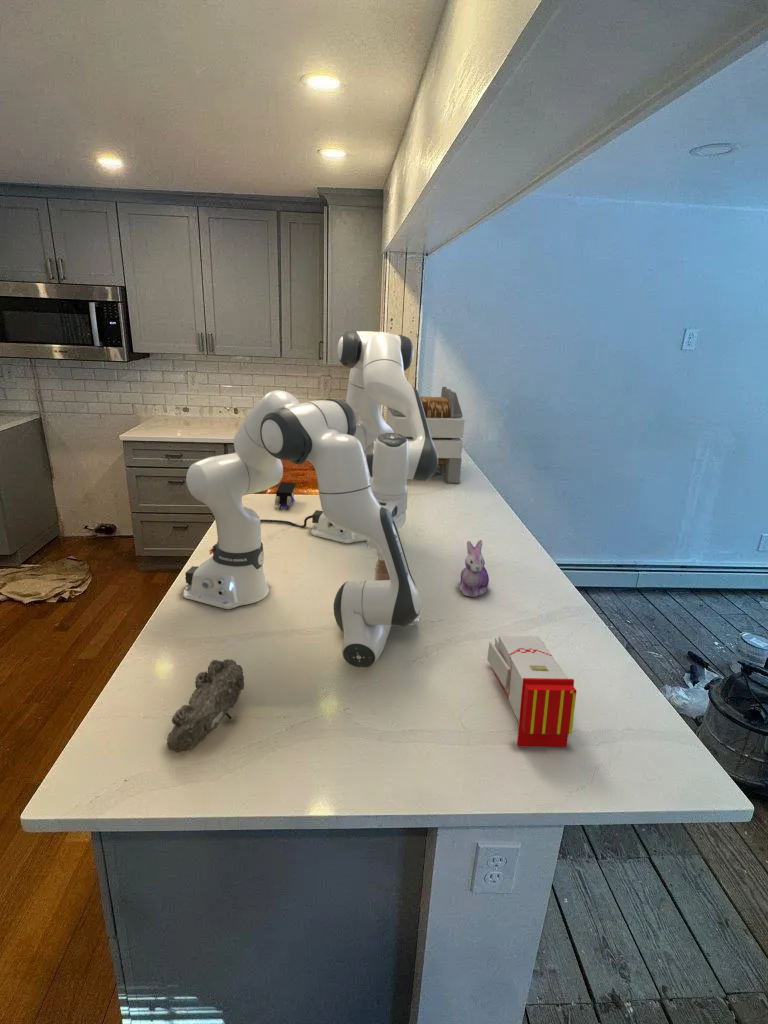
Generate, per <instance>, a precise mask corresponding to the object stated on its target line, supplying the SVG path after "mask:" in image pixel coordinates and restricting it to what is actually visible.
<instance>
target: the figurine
mask: <svg viewBox="0 0 768 1024" xmlns="http://www.w3.org/2000/svg"><path fill="white" fill-rule="evenodd" d="M482 548H483V540H482V539H479V540H478V541H477V543H476V544H475V546H474V544H473V543H472V542H471V541H470V540H467V542H466V550H467V555H466V557H465V559H464V565H465V566H464V568H463V569H462V570H461V572H460V581H459V590H460V591H461V593H462V595H463V596H466V597H472V598H473V597H474V598H477V597H478V596H483V595H484V594H485V593H486V592H487V590H488V586H489V583H490V577H489V573H488V571H487V568H486V567H485V565H486V561H485V558H484V556H483V553H482Z"/></svg>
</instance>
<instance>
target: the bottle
mask: <svg viewBox="0 0 768 1024" xmlns="http://www.w3.org/2000/svg"><path fill="white" fill-rule="evenodd" d="M376 580H390V576H389V573H388V570H387V567H386V564H385V560H378V559H377V561H376V564H375V568H374V581H376Z"/></svg>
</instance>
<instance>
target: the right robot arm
mask: <svg viewBox="0 0 768 1024" xmlns="http://www.w3.org/2000/svg"><path fill="white" fill-rule="evenodd" d="M413 344H414V343H413V342H412V340H411V339H410V337H408V336H406V335H403V334H395V333H390V332H384V331H379V330H378V331H371V330H359V331H357V330H356V329H352V330H345V331H344V332H343V333H342V334H341V336H340V338H339V340H338V343H337V349H336V350H337V351H336V352H337V357H338V360H339V362H340V364H341V365H342V366H344V367H346V368H349V369H350V370H349V375H348V383H347V390H346V397H345V398H346V399H345V402H346V403H347V404H348V405H349V406H350V407H351V408H352V410H353V411H354V414H355V416H358V419H357V421H356V422H357V427H356V432H355V434H354V437H356V438H357V439H358V440H359V441H360V443H361V445H362V447H363V450H364V453H365V457H366V460H367V464H368V468H369V473H370V479H371V487H372V491H373V494H374V496H375V498H376V500H377V501H378V503H379V504H380V505H381V506H382V507H384V508H386V509H388V510H389V512H390V513H391V515H392V517H393V519H394V522H395V525H396V528H397V531H398V532H400V530H402V528H403V527H404V526H405V524H406V519H407V510H408V496H409V487H408V480H413V481H418V482H419V481H421V482H426V481H428V480H430V478H431V477H433V476H434V475H435V474H436V473H437V472H438V468H437V467H438V456H437V452H436V449H435V446H434V443H433V441H432V438H431V435H430V431H429V427H428V424H427V420H426V416H425V412H424V409H423V405H422V402H421V399H420V397H421V395H420V393H419V391H418V389H417V388H416V387H414V386H413V385H411V384H410V382H409V381H408V379H407V377H406V376H405V371H407V370H408V369H409V368H410V367H411V365H412V362H413V360H414V346H413ZM382 407H385V408H387V407H389V408H392V409H394V410H397V411H399V412H401V413H402V414H404V415H405V416H406V417H407V418H408V420H409V423H410V427H411V431H412V435H413V439H414V441H408V440H407V438H406V437H405V436H403V435H401V434H397V433H393V430H392V428H391V427H390V426H389V425H388V424H387V423H386V420H385V419H384V417H383V414H382V413H383V412H382ZM212 518H214V515H212ZM310 519H312V521H311V522H312V524H314V525H313V526H312V528H311V530H310V533H311V536H315V537H319V538H323V539H326V540H330V541H336V542H339V543H343V544H352V543H357V542H365V541H366V546H367V547H368V549H369V550H373V551H376V553H377V557H376V558H377V561H378V560H384V557H383V554H382V551H381V549H380V547H379V546H378V545H377V544H376V543H375V542H374V541H372V540H370V539H368V538H366V537H364V536H361V535H358V534H355V533H352V532H348V531H345V530H343V529H340V528H338V527H337V526H335V525H334V524H332V523H331V522H330V521H329V520H328V519H327V518H326V517H325V515H324V513H323V510H317V509H316V510H315V511H314V512H313V513H312V514H311V515H308V516H306V517H305V518H304V520H303V524H302V525H298V524H297V523H294V522H292V521H288V520H282V519H260V521H261V523H277V524H279V523H281V524H287V525H290V526H293V527H297V528H301V529H304V528H306V527H307V526H308V525H307V523H308V520H310Z"/></svg>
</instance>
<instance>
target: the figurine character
mask: <svg viewBox="0 0 768 1024" xmlns="http://www.w3.org/2000/svg"><path fill="white" fill-rule="evenodd" d="M296 485H297V483H296V482H286V481H285V482H284V481H280V482H279V486H278V487H277V490H276V491H275V497H274V498H275V499H274V506H278V509H279V510H282V507H285V508H286V510H288V509H289V507H290V506H292V503H294V502H295V499H294V497H295V493H294V490H295V487H296Z"/></svg>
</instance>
